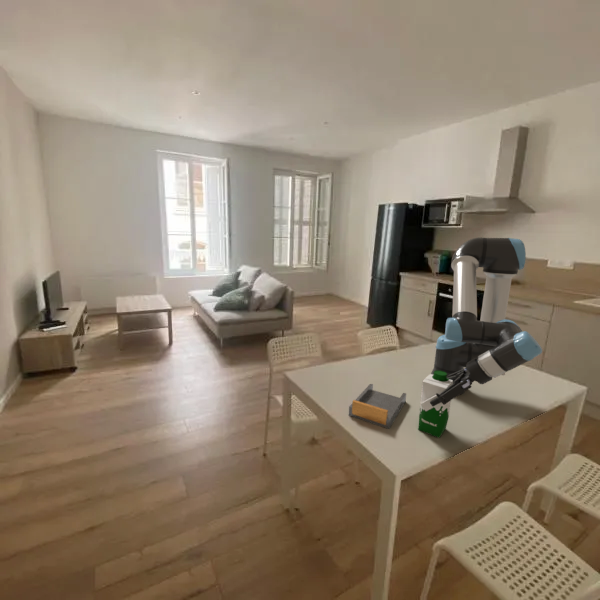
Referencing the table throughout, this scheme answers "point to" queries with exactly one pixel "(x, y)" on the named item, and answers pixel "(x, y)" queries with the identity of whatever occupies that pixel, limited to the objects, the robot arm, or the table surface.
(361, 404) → the rail channel
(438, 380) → the soya milk
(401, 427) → the table surface
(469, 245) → the robot arm
